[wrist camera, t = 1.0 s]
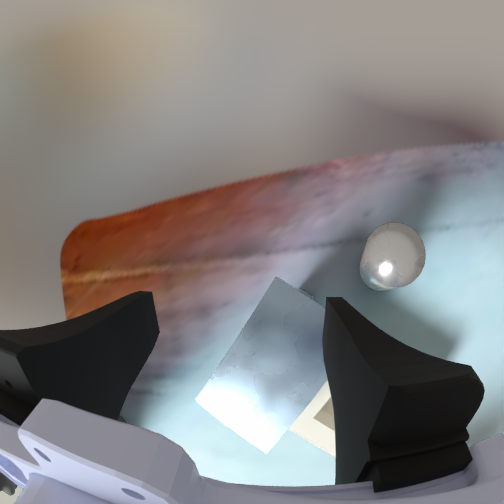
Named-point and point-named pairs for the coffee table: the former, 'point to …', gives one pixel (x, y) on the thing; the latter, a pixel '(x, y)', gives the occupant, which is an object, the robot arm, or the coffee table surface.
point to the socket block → (318, 422)
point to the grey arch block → (270, 367)
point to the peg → (392, 257)
